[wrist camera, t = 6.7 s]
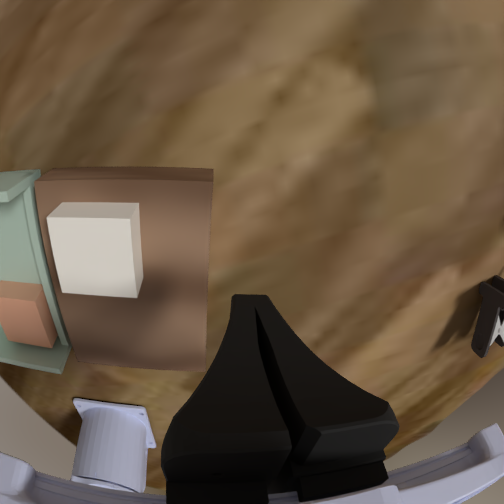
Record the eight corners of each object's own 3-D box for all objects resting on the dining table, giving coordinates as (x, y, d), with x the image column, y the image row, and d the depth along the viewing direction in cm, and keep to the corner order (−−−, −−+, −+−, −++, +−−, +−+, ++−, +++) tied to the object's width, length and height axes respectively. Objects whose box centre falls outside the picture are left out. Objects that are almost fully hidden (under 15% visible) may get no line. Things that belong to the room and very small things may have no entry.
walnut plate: (205, 347, 24) (205, 371, 22) (85, 339, 23) (77, 361, 21) (213, 169, 18) (213, 181, 15) (52, 168, 16) (34, 181, 14)
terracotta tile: (60, 330, 22) (52, 348, 20) (17, 324, 21) (8, 340, 19) (45, 284, 19) (35, 301, 18) (0, 280, 19) (-11, 295, 17)
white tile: (143, 276, 18) (137, 298, 16) (73, 272, 17) (62, 292, 15) (138, 202, 16) (130, 218, 14) (61, 202, 15) (46, 217, 13)
